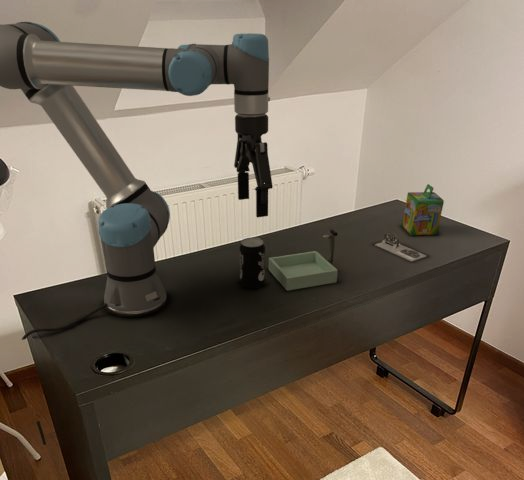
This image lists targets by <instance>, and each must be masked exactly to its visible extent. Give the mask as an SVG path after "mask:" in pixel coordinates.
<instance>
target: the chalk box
mask: <svg viewBox="0 0 524 480" xmlns="http://www.w3.org/2000/svg"><path fill="white" fill-rule="evenodd" d="M428 190H429V191H428ZM444 203H445V200H444V199H443V198H442V197H440V196H439V195H438V194H437V193H436V192H434V187H433V186H432V185H430V184H429V183H428V184H427V185H426V186H425V188H424V190H423V191H415V192H414V191H413V192H412V191H411V192H409V191H408V192H407V195H406V200H405V205H404V206H405V208H404V211H403V217H402V220H401V227H402V228H404V230H405V231H406V232H407V233H408V234H409V235H410V236H436V235H438V231H439V225H440V221H441V217H442V212H443V208H444Z"/></svg>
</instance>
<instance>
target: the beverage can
mask: <svg viewBox="0 0 524 480" xmlns="http://www.w3.org/2000/svg"><path fill="white" fill-rule="evenodd" d="M265 269H266V246H265V244H264V240H263V239H262V238H259V237H246V238H243V239H241V241H240V245H239V281H240V284H241V285H242V286H243V287H244V288H246V289H258V288H261V287H263V285H264V284H265V281H266V270H265Z"/></svg>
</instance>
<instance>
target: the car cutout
mask: <svg viewBox="0 0 524 480" xmlns="http://www.w3.org/2000/svg"><path fill="white" fill-rule="evenodd" d="M374 246H375V247H378V248H380V249H383V250H385V251H387V252H389V253H391V254H393V255H395V256H398V257H400V258H402V259H405V260H407V261H409V262H412V263H413V262H415V261H418V260H422V259H424V258H426V257H428V256H427V255H426V254H423V253H421V252H419V251H417V250H415V249H412V248H410V247H408V246H405V245H403V244H401V243H400V239H399V238H397V234H396V233H393V232H391V231H389V232H388V233H385V234H384V236H383V238H382V241H381V242H377V243H375V244H374Z"/></svg>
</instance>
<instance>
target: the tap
mask: <svg viewBox="0 0 524 480" xmlns="http://www.w3.org/2000/svg"><path fill="white" fill-rule="evenodd" d="M329 233H330V234H324V235H323V236H322V238H323V240H327V239H329V241H328V242H329V243H328V255H327V261H328V262H329V263H330V264H331V265H332V266H333V263H334V254H335V242H336V237H338V232H337V231H336V230H334V229H330V230H329Z"/></svg>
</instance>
